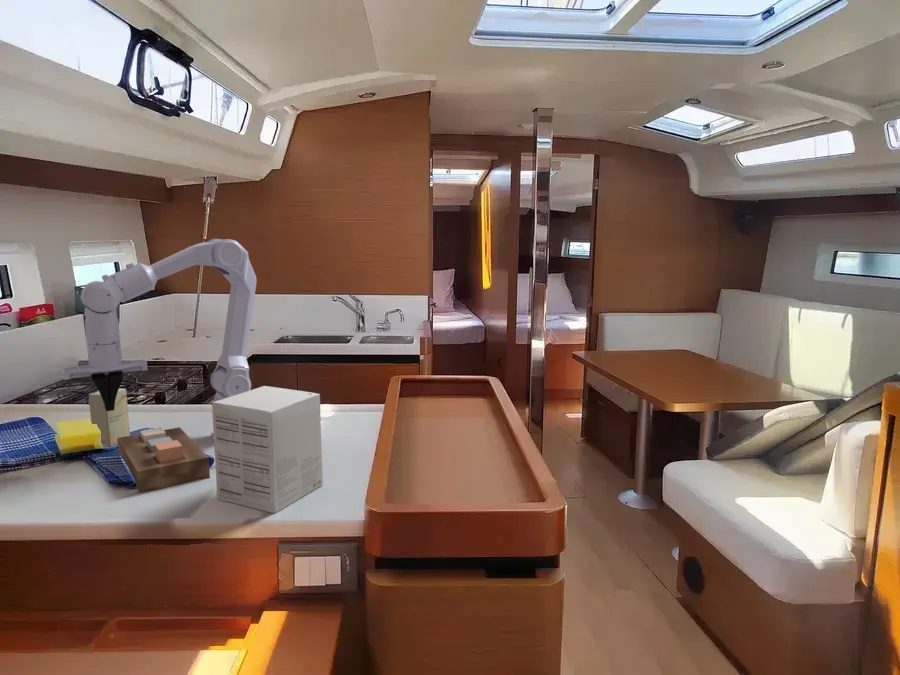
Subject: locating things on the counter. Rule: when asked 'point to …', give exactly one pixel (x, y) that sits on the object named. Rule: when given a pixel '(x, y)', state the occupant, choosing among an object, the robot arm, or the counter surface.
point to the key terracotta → (168, 452)
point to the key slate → (155, 441)
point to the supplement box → (267, 447)
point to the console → (167, 473)
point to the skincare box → (110, 417)
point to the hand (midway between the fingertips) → (109, 409)
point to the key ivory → (152, 434)
